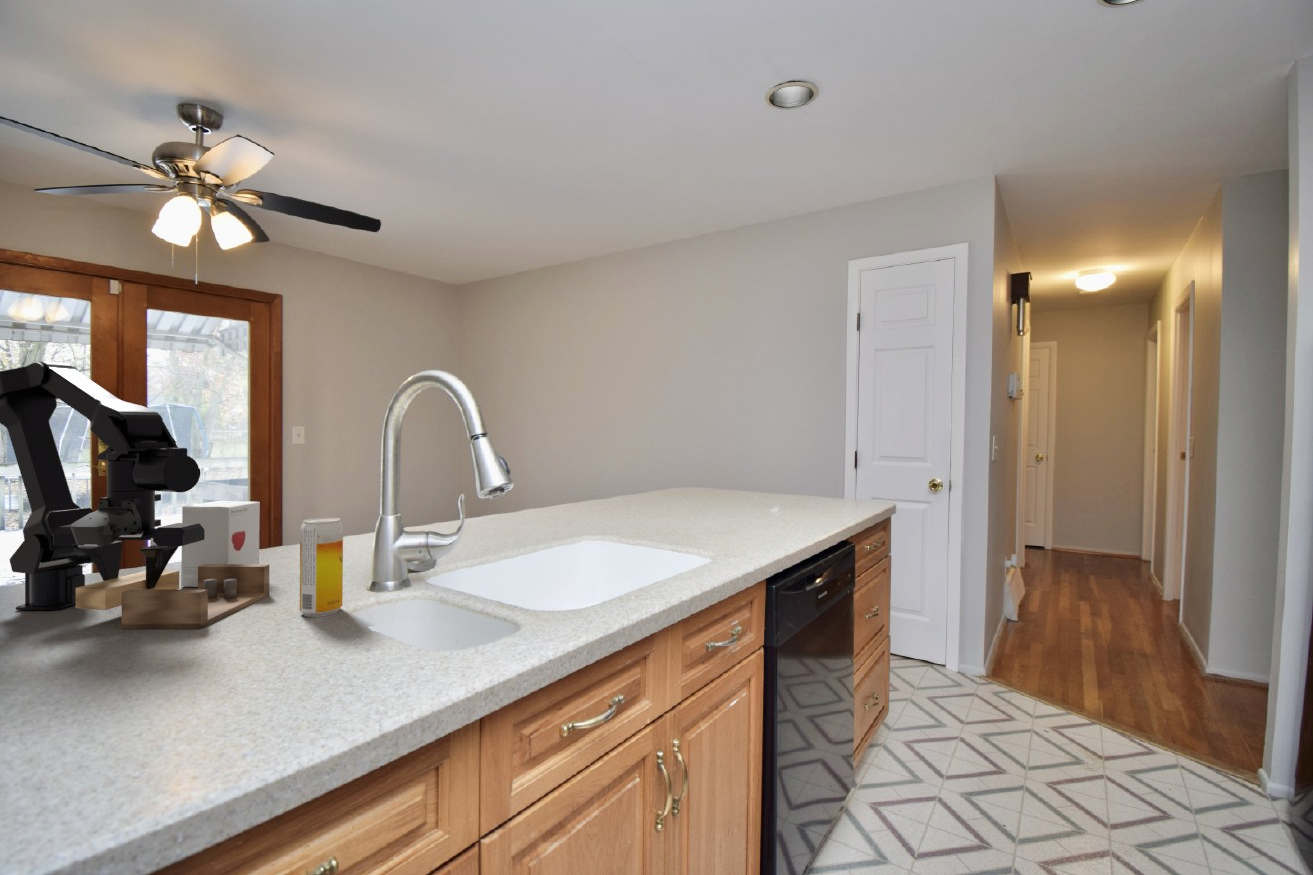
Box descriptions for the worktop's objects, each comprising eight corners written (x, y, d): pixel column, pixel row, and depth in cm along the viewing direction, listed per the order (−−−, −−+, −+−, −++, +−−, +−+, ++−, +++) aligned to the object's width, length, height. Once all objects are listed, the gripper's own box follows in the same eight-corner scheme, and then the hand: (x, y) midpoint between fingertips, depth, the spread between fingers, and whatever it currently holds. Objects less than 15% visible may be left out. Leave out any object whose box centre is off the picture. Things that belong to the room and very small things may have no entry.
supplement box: (227, 588, 112) (228, 507, 111) (179, 587, 112) (179, 505, 111) (261, 576, 121) (261, 500, 120) (216, 575, 121) (216, 499, 120)
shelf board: (75, 608, 90) (75, 588, 90) (152, 587, 102) (152, 569, 102) (105, 610, 90) (105, 589, 90) (179, 588, 102) (179, 570, 101)
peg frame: (121, 629, 89) (121, 592, 89) (203, 594, 107) (204, 564, 107) (200, 628, 90) (200, 592, 90) (269, 594, 108) (269, 564, 108)
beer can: (350, 607, 102) (351, 517, 101) (327, 619, 96) (327, 523, 95) (315, 605, 102) (316, 516, 102) (290, 617, 96) (291, 522, 96)
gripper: (17, 494, 87) (17, 604, 87) (155, 496, 88) (155, 603, 89) (85, 486, 98) (84, 583, 98) (207, 488, 99) (206, 583, 100)
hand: (131, 588), depth 96 cm, fingers closed on shelf board, 5 cm apart
